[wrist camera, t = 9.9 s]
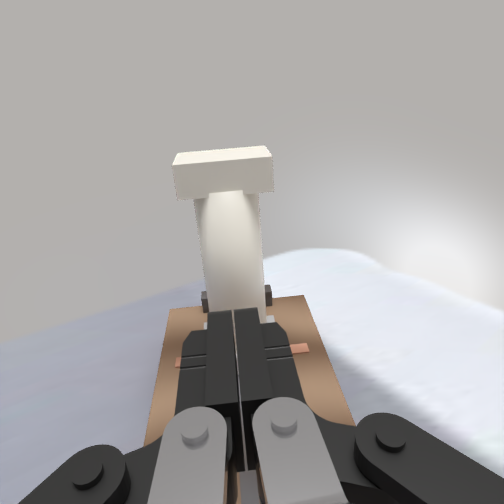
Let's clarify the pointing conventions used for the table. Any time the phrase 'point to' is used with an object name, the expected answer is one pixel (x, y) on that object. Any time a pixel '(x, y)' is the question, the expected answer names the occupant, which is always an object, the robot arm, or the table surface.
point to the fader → (228, 222)
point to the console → (305, 357)
